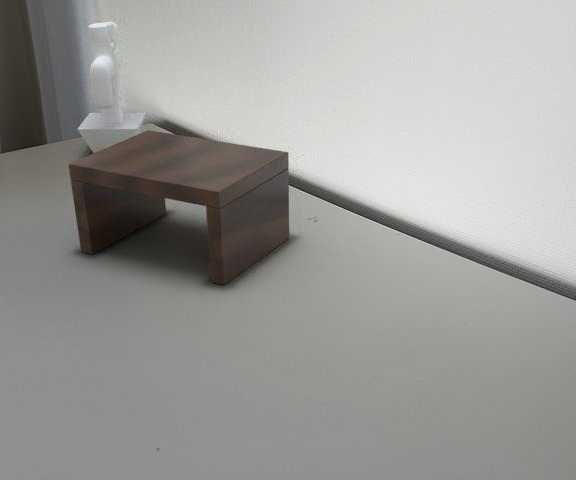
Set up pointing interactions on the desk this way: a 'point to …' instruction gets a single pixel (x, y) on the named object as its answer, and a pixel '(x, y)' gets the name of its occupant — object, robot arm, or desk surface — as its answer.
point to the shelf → (185, 194)
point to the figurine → (107, 92)
